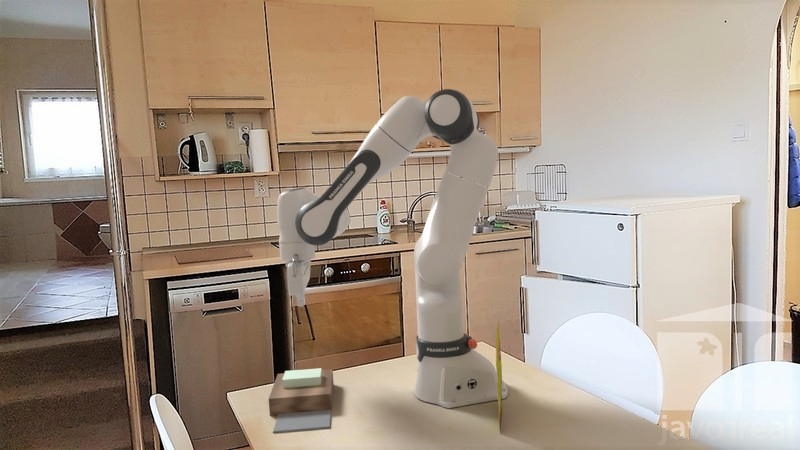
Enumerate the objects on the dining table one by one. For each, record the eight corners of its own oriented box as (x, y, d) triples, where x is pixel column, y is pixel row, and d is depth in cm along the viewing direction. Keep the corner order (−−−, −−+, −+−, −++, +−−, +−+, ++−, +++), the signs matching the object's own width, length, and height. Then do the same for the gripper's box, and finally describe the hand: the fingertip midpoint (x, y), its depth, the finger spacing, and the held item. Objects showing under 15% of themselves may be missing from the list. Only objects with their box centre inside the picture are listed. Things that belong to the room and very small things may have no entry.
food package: (502, 434, 116) (499, 338, 114) (496, 434, 116) (493, 338, 114) (504, 403, 131) (501, 317, 129) (499, 402, 131) (496, 317, 129)
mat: (331, 411, 131) (331, 409, 131) (329, 428, 123) (329, 426, 123) (278, 415, 130) (278, 414, 130) (273, 432, 122) (273, 431, 122)
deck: (333, 384, 147) (332, 369, 147) (331, 410, 132) (330, 393, 131) (278, 388, 146) (277, 373, 146) (269, 415, 130) (268, 398, 130)
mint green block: (322, 375, 143) (321, 368, 143) (320, 384, 137) (320, 376, 137) (285, 378, 142) (285, 371, 142) (282, 387, 136) (282, 379, 136)
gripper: (306, 257, 135) (310, 314, 136) (312, 245, 155) (316, 295, 156) (279, 259, 134) (283, 316, 136) (289, 247, 155) (293, 297, 156)
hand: (301, 305), depth 146 cm, fingers closed
